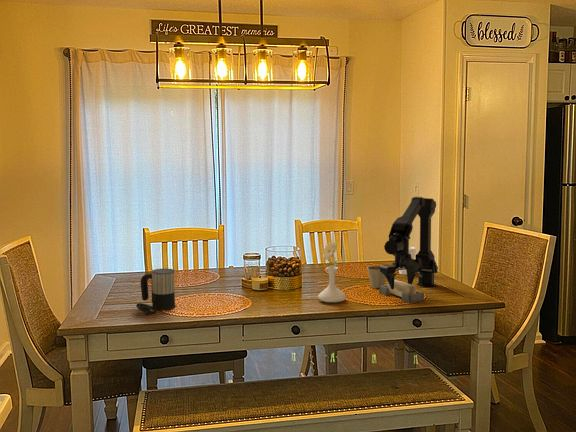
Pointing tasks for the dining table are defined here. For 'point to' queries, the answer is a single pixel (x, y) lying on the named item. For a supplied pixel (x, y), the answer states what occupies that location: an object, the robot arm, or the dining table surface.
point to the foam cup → (412, 252)
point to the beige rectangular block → (401, 288)
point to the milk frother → (158, 290)
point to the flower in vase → (331, 277)
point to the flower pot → (376, 276)
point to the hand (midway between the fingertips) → (401, 287)
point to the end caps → (405, 295)
